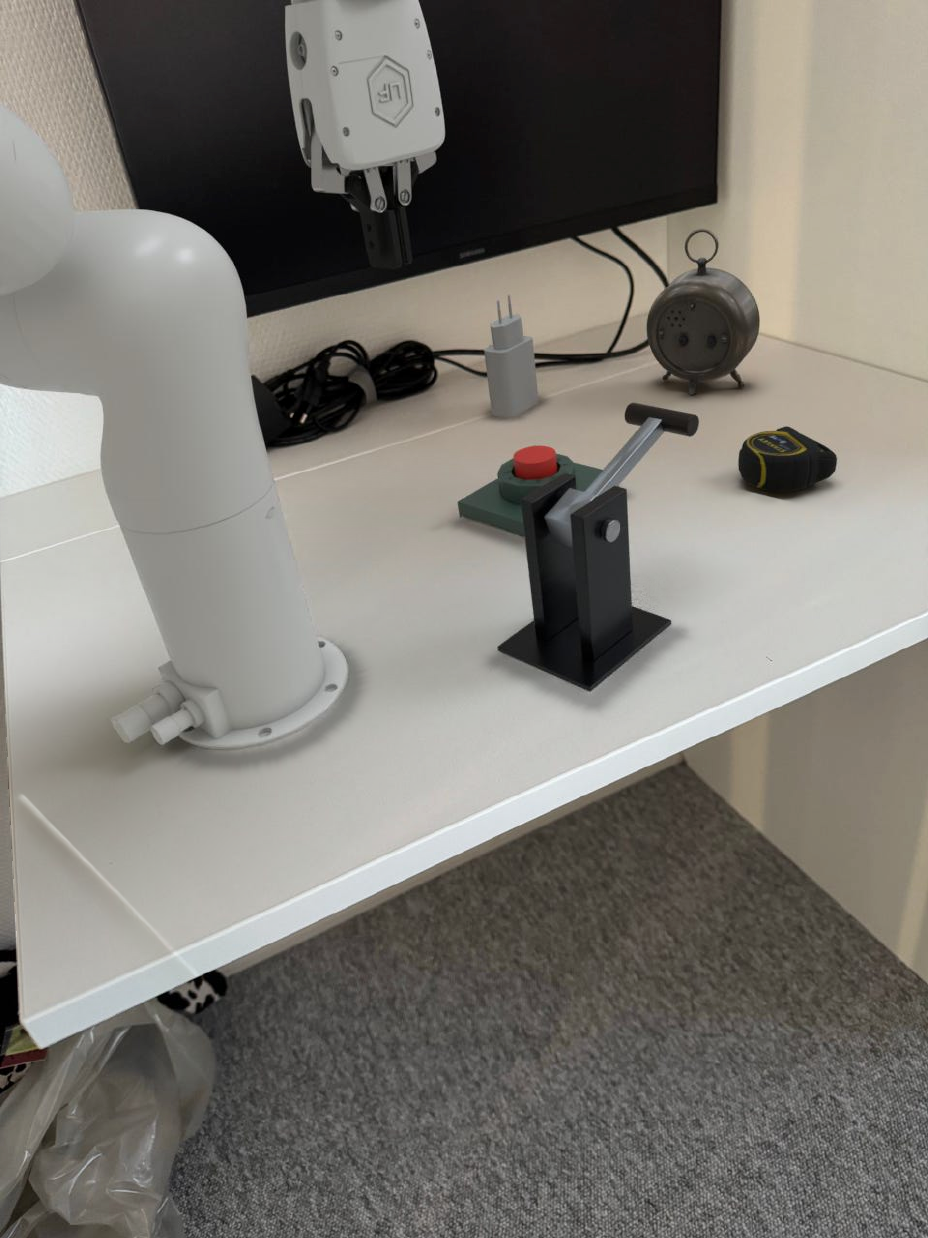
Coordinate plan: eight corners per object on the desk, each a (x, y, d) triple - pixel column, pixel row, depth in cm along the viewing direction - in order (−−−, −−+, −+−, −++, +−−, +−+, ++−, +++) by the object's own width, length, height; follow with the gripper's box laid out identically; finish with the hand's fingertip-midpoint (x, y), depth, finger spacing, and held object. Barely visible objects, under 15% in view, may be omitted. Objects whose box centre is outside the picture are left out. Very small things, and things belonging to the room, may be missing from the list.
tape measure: (839, 487, 79) (842, 445, 77) (766, 508, 78) (768, 466, 76) (791, 458, 85) (793, 419, 83) (722, 477, 83) (723, 437, 81)
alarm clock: (758, 382, 100) (765, 221, 91) (742, 401, 97) (746, 235, 88) (661, 375, 106) (658, 222, 97) (642, 393, 102) (637, 236, 93)
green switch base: (538, 550, 77) (533, 506, 75) (460, 523, 83) (454, 482, 81) (619, 496, 83) (617, 454, 81) (541, 474, 89) (537, 435, 87)
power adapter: (489, 415, 103) (475, 303, 96) (519, 397, 106) (507, 288, 99) (511, 419, 101) (499, 306, 94) (541, 400, 104) (531, 290, 98)
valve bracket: (580, 600, 70) (568, 453, 64) (671, 634, 65) (669, 479, 59) (499, 660, 65) (477, 508, 59) (591, 702, 60) (578, 541, 54)
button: (538, 485, 79) (536, 466, 78) (506, 476, 81) (504, 457, 80) (565, 468, 81) (564, 449, 80) (534, 460, 83) (532, 441, 82)
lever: (639, 419, 66) (632, 392, 64) (702, 432, 63) (695, 404, 61) (537, 537, 62) (526, 511, 60) (598, 558, 58) (589, 530, 57)
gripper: (283, -28, 55) (344, 296, 64) (466, -45, 63) (495, 244, 73) (216, -12, 60) (282, 287, 69) (393, -30, 68) (430, 239, 77)
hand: (391, 264), depth 71 cm, fingers closed
